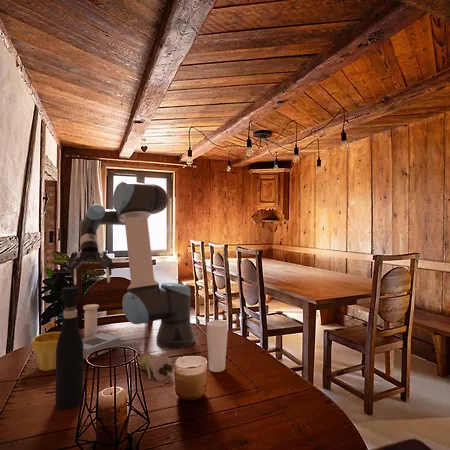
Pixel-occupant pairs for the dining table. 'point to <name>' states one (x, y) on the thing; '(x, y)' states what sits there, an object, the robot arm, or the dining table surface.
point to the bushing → (90, 319)
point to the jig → (99, 343)
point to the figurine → (155, 365)
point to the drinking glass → (217, 344)
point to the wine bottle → (69, 355)
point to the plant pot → (46, 350)
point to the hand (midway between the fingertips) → (92, 282)
